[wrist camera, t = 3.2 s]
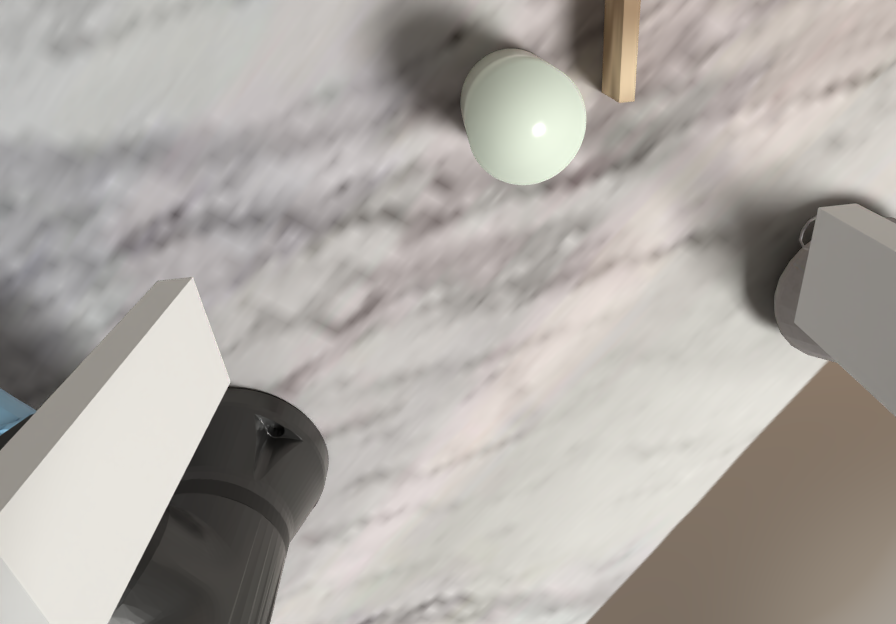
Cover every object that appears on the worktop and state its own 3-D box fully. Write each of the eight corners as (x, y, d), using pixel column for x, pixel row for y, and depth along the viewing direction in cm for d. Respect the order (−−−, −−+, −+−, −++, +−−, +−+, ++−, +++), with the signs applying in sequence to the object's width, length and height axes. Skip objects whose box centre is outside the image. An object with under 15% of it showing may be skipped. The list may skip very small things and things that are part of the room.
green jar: (557, 145, 40) (584, 179, 33) (464, 154, 40) (471, 190, 33) (557, 43, 37) (587, 56, 30) (456, 53, 37) (462, 69, 30)
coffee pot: (939, 261, 45) (1148, 373, 32) (814, 361, 49) (954, 496, 36) (767, 84, 38) (944, 133, 25) (640, 217, 42) (734, 319, 29)
